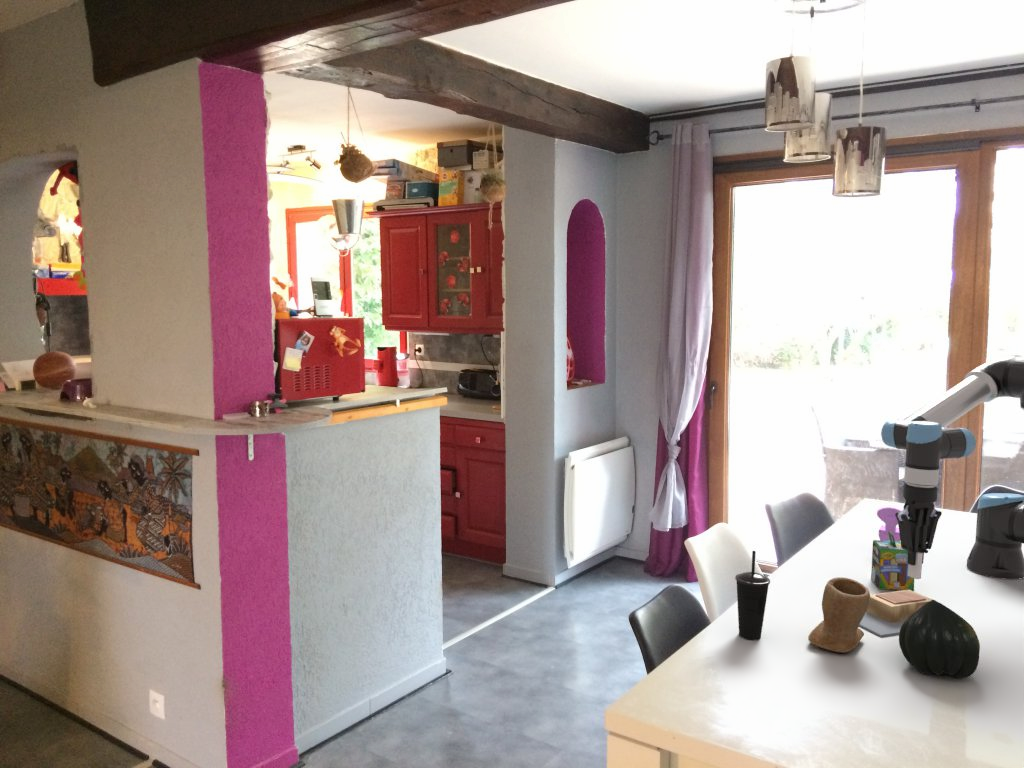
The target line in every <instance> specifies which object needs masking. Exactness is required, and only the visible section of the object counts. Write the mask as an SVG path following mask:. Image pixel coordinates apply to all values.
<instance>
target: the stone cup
mask: <svg viewBox="0 0 1024 768" xmlns="http://www.w3.org/2000/svg"><path fill="white" fill-rule="evenodd" d="M825 584H826V585H825V586H824V589H823V595H822V600H821V610H822V615H823V620H821V622H819V623H818V625H816V626H815V627H814V629H812V630H811V631H810V633H809V635H808V641H809V642H810V643H811V644H813V646H816V647H818V648H821V649H823V650H827V651H831V652H836V653H847V652H848V653H849V652H850V651H852V650H854V648H856V647H857V645H858V644H859V643H860V641H861V640H862V639H863V637H864V635H865V633H864V631H863V630H862V629H861V628H860V626H859V624H860V622H861V620H862V618H863V617H864V615H865V613H866V611H867V609H868V605H869V599H870V595H871V593H870V591H869V589H868V588H867V587H866V586H865V585H864V584H862V583H861V582H859V581H858V580H855V579H851V578H848V577H842V576H841V577H833V578H831V579H829V580H828V581H827V582H826V583H825Z"/></svg>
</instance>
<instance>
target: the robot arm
mask: <svg viewBox="0 0 1024 768" xmlns="http://www.w3.org/2000/svg"><path fill="white" fill-rule="evenodd" d="M963 377H964V378H963V379H962V381H960V382H958V383H957V384H956V385H954V386H953V387H951V388H949V389H948V390H946V391H945V392H943V393H942V394H941V395H939V396H937V397H936V398H935V399H933V400H932V401H930V402H928V403H927V404H926V405H924V406H922V407H921V408H919V409H918V410H916V411H915V412H913V413H912V414H910V415H908V417H906V418H904V419H902V420H901V419H889V420H887V421H885V423H884V424H883V425H882V428H881V433H880V435H881V439H882V443H884V444H885V445H886V446H888V447H891V448H895V449H897V450H904V451H905V463H904V465H905V466H904V477H903V479H904V480H903V481H904V482H905V483H904V484H903V487H902V489H903V490H902V497H903V498H904V499H903V500H905V501H904V502H905V503H904V505H903V509H902V510H901V511H902V512H900V513H899V512H896V514H895V516H896V518H897V520H898V528H899V533H900V542H901V548H902V549H905V550H907V551H908V558H907V559H908V560H907V563H908V576H910V577H912V578H914V580H920V579H922V567H923V564H924V557H925V554H928V553H929V550H930V549H932V546H933V542H934V539H935V534H936V530H937V528H938V527H937V526H938V524H939V523H938V522H939V520H940V518H941V516H942V511H940V510H937V509H936V508H935V506H936V505H935V502H937V501H938V492H939V491H938V489H939V488H938V486H937V485H939V481H940V480H939V477H940V476H939V475H940V460H946V459H947V460H948V459H961V458H965V457H968V456H970V455H972V454H973V452H974V451H975V449H976V443H977V442H976V441H977V439H976V438H975V435H974V433H972V431H970V430H969V429H968V428H965V427H956V426H954V427H948V426H949V425H951V424H952V423H954V422H955V421H957V420H958V419H959V418H961V417H962V416H964V415H966V414H967V413H969V412H970V411H971V410H973V409H974V408H976V407H977V406H978V405H980V404H982V403H988V402H991V401H993V400H994V399H996V398H1003V397H1005V398H1006V397H1009V398H1017V399H1019V401H1020V409H1022V410H1023V411H1024V355H1017V354H1016V355H1013V354H1012V355H1005V356H1002V357H1001V356H1000V357H998V358H994V359H992V360H989V361H988V362H985V363H983V364H981V365H978V366H977V367H975V368H973V369H972V370H971V371H969V372H967V373H966V374H965V376H963ZM977 504H978V505H977V508H976V511H977V514H976V527H975V541H974V544H973V546H972V548H971V550H970V552H969V555H968V557H967V559H966V568H967V569H968V570H970V571H972V572H974V573H976V574H979V575H982V576H986V575H987V577H990V576H991V578H995V577H996V578H997V579H1002V578H1005V579H1004V580H1020V579H1019V578H1022V579H1024V578H1023V577H1024V553H1023V549H1022V546H1023V544H1024V495H1023V494H1020V493H1009V492H1007V493H1005V492H1004V493H1003V492H999V493H998V492H991V493H984V494H982V495H981V496H980V497H979V498H978V503H977Z"/></svg>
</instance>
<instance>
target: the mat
mask: <svg viewBox="0 0 1024 768" xmlns="http://www.w3.org/2000/svg"><path fill="white" fill-rule="evenodd" d="M903 623H904V621H899V622H893V623H890V622H888V621H886V620H884V619H882V618H879V617H877V616H875V615H873V614H871V613H869V612H867V611H866V613H865V615H864V617H863V618H862V620H861V622H860V624H859V626H858V627H859V628H862V629H864V630H866V631H868V632H870V633H872V634H874V635H876V636H878V637H880V638H884V637H889V636H895V635H899V633H900V629H901V626H902V625H903Z"/></svg>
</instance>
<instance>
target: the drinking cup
mask: <svg viewBox="0 0 1024 768" xmlns="http://www.w3.org/2000/svg"><path fill="white" fill-rule="evenodd" d="M751 553H752V555H751V556H752V557H751V571H745V572H741V573H738V574H736V575H735V577H734V579H735V581H736V594H737V596H736V597H737V598H736V599H737V616H738V618H737V620H738V635H739V637H741V638H742V639H744V640H749V641H758V640H760V639H761V637H762V632H763V624H764V617H765V612H766V611H765V610H766V604H767V598H768V597H767V596H768V590H769V585H770V584H771V579H770V578H769V577H768V576H765V575H763V573H762V574H761V573H759V572H756V570H755V569H756V551H755V550H752V552H751Z"/></svg>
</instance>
